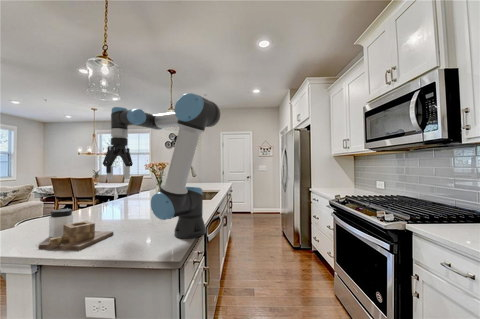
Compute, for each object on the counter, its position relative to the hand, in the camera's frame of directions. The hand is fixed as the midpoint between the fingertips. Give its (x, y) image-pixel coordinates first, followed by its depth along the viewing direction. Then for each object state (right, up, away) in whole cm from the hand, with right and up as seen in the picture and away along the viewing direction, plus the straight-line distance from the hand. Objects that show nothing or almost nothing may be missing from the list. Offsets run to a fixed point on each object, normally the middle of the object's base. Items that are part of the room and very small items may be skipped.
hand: (118, 179), depth 114 cm
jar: (-25, -27, -6) cm, 37 cm away
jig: (-9, -26, -15) cm, 32 cm away
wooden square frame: (-11, -25, -17) cm, 32 cm away
